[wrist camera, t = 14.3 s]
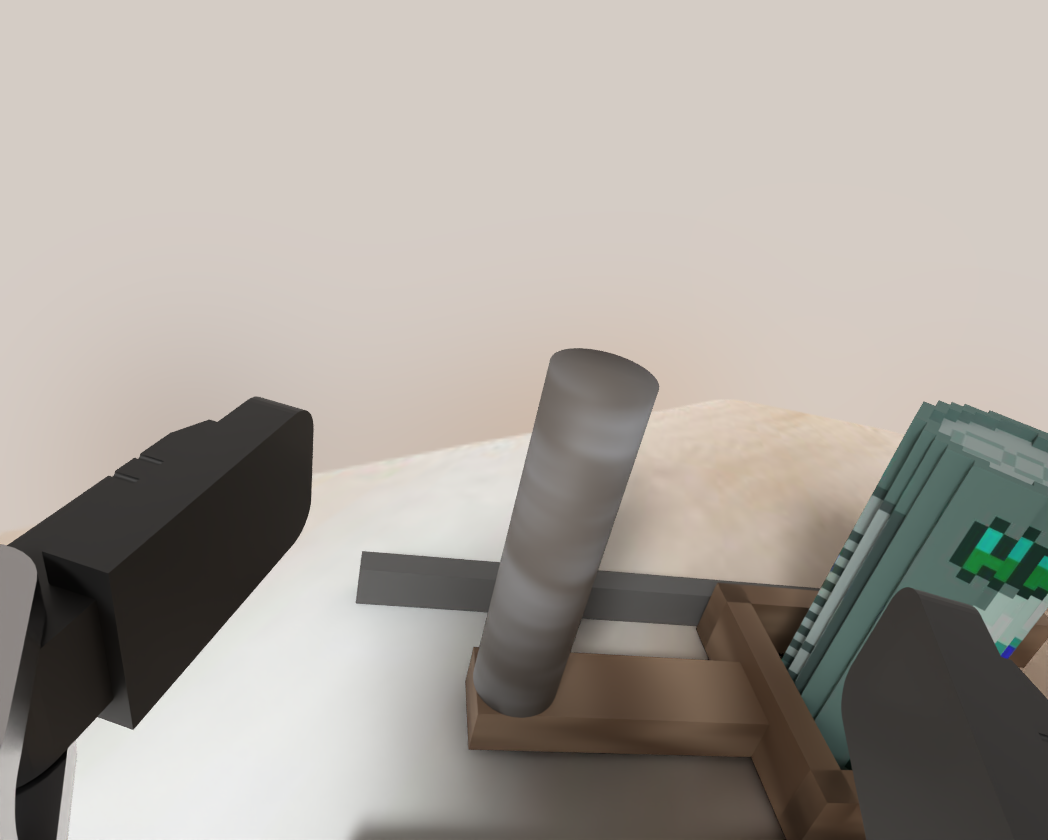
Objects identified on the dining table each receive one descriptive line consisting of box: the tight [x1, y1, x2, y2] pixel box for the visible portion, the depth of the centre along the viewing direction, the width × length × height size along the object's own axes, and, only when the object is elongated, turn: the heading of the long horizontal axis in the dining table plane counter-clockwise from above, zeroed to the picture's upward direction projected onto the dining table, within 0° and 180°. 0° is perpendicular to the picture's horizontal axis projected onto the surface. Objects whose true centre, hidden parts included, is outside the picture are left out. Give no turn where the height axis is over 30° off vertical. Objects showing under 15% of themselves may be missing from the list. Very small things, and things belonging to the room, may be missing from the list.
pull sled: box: [465, 348, 1048, 840], centre depth 26 cm, size 30×10×15 cm, turn 96°
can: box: [781, 401, 1048, 770], centre depth 26 cm, size 6×6×15 cm
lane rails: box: [356, 551, 820, 626], centre depth 29 cm, size 32×14×2 cm, turn 96°
